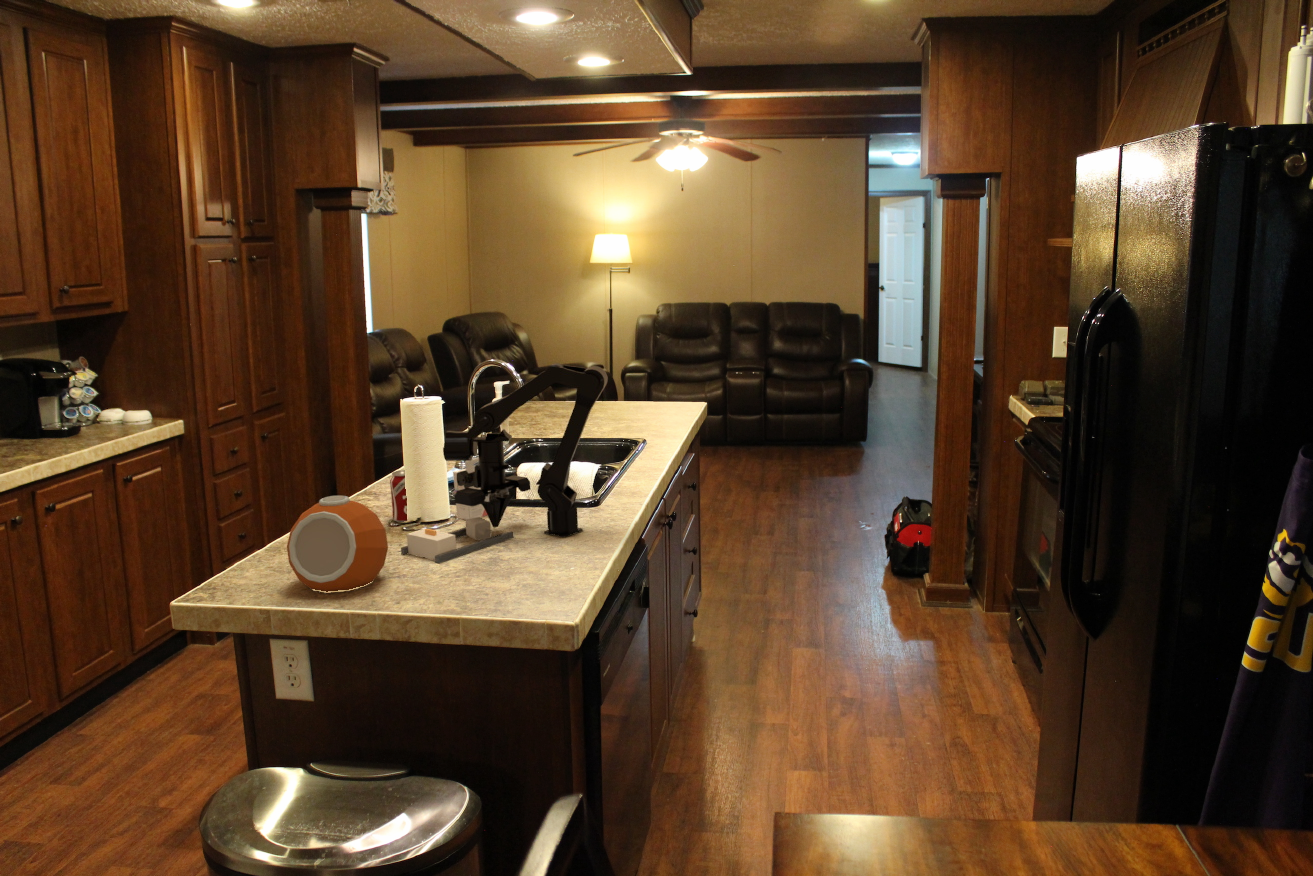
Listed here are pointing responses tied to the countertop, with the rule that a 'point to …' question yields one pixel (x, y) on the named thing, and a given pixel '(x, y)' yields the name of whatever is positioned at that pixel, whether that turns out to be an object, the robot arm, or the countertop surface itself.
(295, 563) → the alarm clock
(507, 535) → the gray rail frame
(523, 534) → the countertop surface
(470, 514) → the ink cartridge box
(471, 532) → the usb wall charger
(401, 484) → the soda can
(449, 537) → the block
